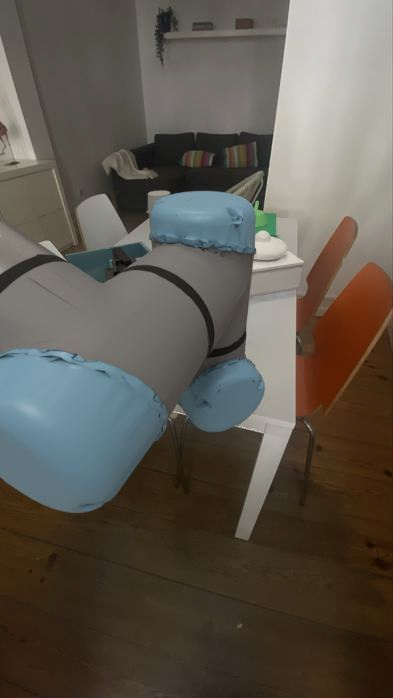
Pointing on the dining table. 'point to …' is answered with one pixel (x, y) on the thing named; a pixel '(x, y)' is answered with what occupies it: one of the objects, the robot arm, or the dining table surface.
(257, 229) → the toy tank
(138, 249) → the shower
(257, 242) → the butter dish
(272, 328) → the dining table surface
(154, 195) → the water bottle
